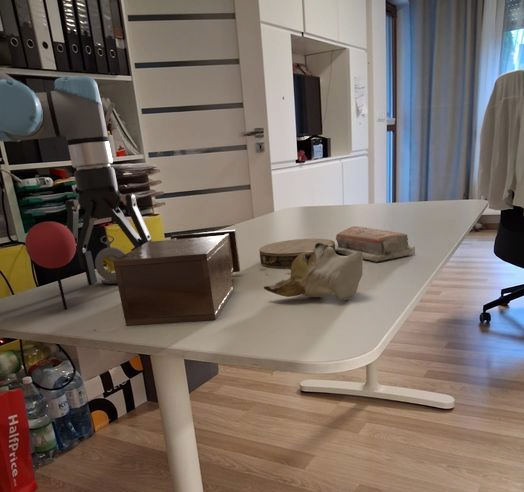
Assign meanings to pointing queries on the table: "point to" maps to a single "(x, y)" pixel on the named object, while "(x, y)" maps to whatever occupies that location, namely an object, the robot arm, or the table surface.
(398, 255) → the old brick
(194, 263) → the wooden box
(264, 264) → the tambourine
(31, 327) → the table surface
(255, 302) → the table surface
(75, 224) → the robot arm
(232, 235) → the drawer
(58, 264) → the lollipop
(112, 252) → the pocket watch
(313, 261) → the ceramic sculpture
